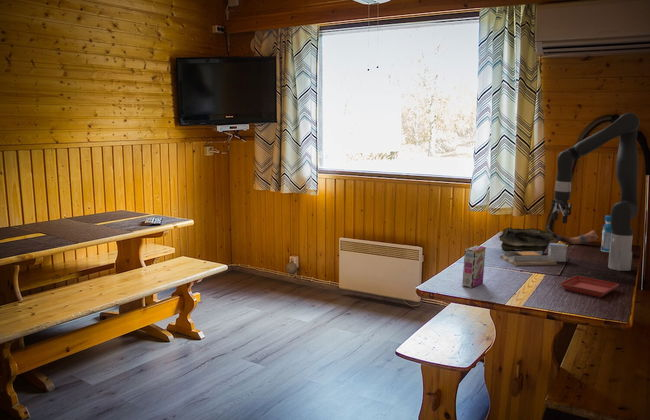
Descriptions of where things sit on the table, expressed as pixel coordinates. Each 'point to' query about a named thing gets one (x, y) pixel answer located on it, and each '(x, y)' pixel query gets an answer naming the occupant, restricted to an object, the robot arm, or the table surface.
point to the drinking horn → (576, 238)
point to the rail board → (528, 262)
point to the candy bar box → (473, 266)
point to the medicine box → (558, 251)
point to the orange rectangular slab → (528, 253)
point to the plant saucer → (589, 286)
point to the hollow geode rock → (525, 239)
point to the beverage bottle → (606, 234)
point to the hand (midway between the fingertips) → (559, 221)
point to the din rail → (517, 257)
